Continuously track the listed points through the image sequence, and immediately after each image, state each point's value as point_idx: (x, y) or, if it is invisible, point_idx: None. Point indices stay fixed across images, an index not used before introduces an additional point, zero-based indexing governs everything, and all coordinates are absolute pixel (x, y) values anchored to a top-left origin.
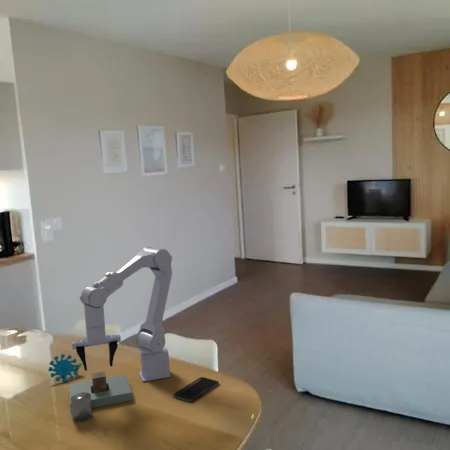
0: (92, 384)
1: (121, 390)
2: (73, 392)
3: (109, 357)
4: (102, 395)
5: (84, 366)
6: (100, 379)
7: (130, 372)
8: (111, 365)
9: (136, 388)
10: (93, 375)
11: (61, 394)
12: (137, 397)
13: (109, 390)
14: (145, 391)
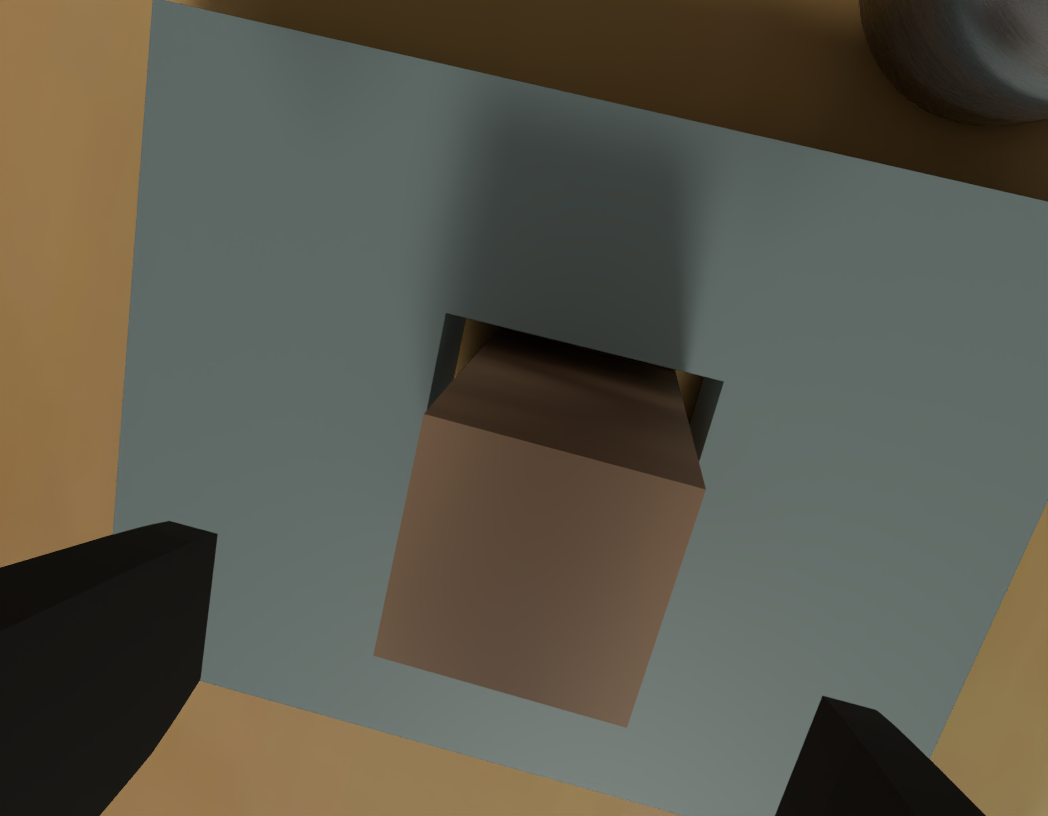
0: None
1: (286, 182)
2: (940, 601)
3: (71, 809)
4: (601, 201)
5: (947, 790)
6: (544, 431)
7: None
8: (171, 529)
9: (95, 340)
10: (629, 626)
11: None
12: (142, 65)
13: (449, 306)
14: (8, 176)
